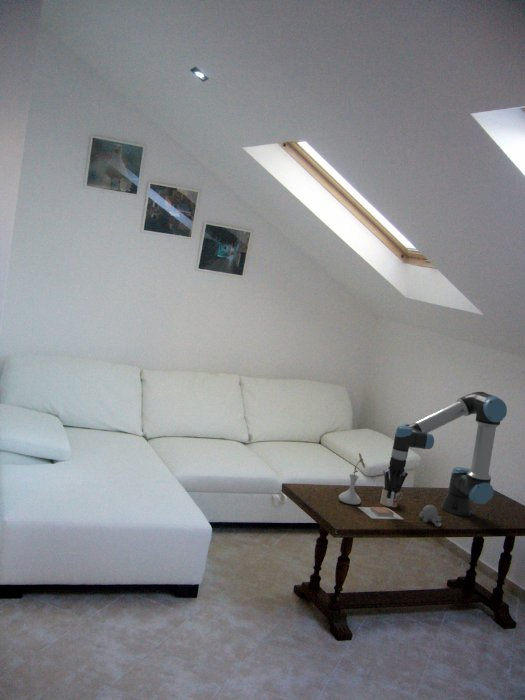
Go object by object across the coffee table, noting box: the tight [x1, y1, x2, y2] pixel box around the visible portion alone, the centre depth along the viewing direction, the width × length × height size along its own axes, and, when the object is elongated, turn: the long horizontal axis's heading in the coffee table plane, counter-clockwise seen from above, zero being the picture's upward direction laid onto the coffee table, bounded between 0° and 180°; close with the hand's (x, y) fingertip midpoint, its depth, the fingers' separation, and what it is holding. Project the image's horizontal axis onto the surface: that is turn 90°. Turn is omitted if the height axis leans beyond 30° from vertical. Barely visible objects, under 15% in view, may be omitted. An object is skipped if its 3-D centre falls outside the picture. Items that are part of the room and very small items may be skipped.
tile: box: [370, 506, 394, 516], centre depth 334 cm, size 2×7×9 cm
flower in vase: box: [337, 452, 366, 505], centre depth 343 cm, size 13×11×25 cm
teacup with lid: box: [379, 484, 403, 508], centre depth 350 cm, size 12×9×12 cm
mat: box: [357, 506, 404, 520], centre depth 334 cm, size 18×14×1 cm
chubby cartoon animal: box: [418, 504, 443, 528], centre depth 332 cm, size 7×12×8 cm, turn 32°
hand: (389, 504), depth 335 cm, fingers closed
